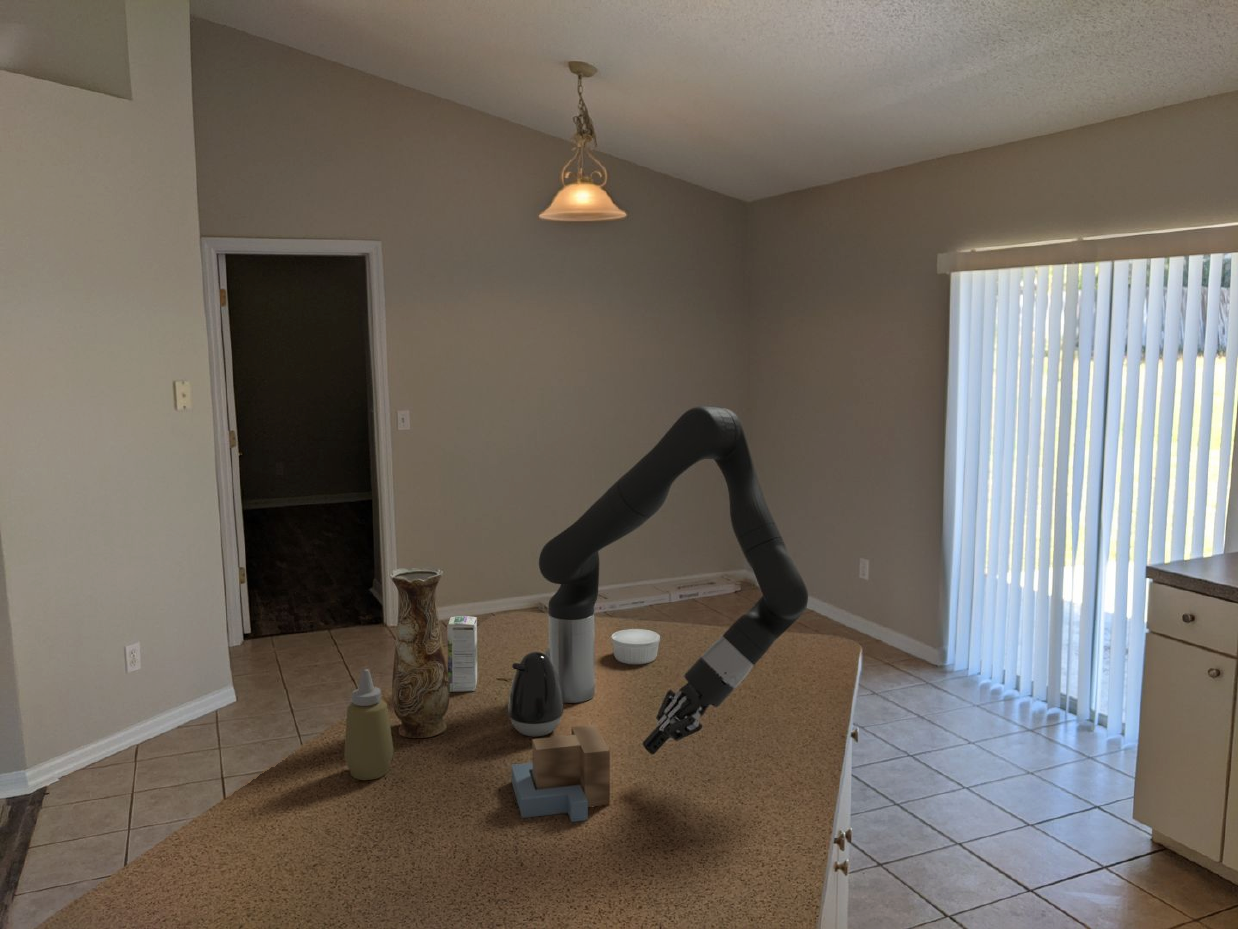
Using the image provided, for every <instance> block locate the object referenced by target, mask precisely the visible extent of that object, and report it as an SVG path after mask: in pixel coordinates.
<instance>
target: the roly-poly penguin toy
mask: <svg viewBox="0 0 1238 929" xmlns="http://www.w3.org/2000/svg"><path fill="white" fill-rule="evenodd" d="M511 667H512V669H513V670H516V671H515V673H514V676H513V678H512V683H511V687H510V693H509V700H508V705H507V706H508V709H507V711H508V712H507V714H508V717H509V718H510V720H511V723H512V725H513V727H514V729H515V730H516V731H518V732H519V733H520V734H522V735H524V736H528V737H536V738H537V737H538V738H539V737H543V736H546V735H549V734H551V733H552V732H553V731H554V730H556V729H557V727H558V726H559V724H560V722H561V719H562V716H563V714H564V702H563V699H562V693H561V688H560V684H559V681H558V678H557V675H556V672H555V670H554V667H553V665H552V663H551V661H550V660H549V658H548V657H547V656H546V655H545V653H543V652H541V651H531V652H528V653H527V654H525V655H524V656H523V657H522V658H521V660H520V662H514V663H513V664H512V666H511Z"/></svg>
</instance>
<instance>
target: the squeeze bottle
mask: <svg viewBox="0 0 1238 929" xmlns="http://www.w3.org/2000/svg"><path fill="white" fill-rule="evenodd" d="M351 696H352V702H351V703H350V704H349V705H347V707H346V709H347V710H346V711H347V712H346V724H345V737H344V738H345V741H344V754H343V755H344V756H343V757H344V760H345V762H346V765H347V767H348V770H349V772H350V775H351V776H352V777H353V778H354V779H356V780H359V781H371V780H372V781H373V780H375V779H378V778H382V777H384V776H385V775H386V774H387V773H388V771H389V768H390V763H391V761H392V758H393V754H394V745H393V744H394V742H393V737H392V730H391V724H390V722H391V721H390V718H389V717H390V715H389V710H388V703H387V702H386V701H385V700H383V699H382V691H381V688H379V687H376V686H374V683H373V679H372V675H371V672H370V669H368V668H366V669H362V671H361V675H360V680H359V686H358V688H357V689H355V690H353V691H352V695H351Z"/></svg>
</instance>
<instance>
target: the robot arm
mask: <svg viewBox="0 0 1238 929" xmlns="http://www.w3.org/2000/svg"><path fill="white" fill-rule="evenodd" d="M744 430H745V429H744V427H743V424H742V422H741V420H740V419H739V417H738V415H737V414H736V413H734V412H733V411H732V410H731V409H729V408H725V407H719V406H705V405H704V406H703V405H701V406H700V405H699V406H695V407H691V408H690V409H688V410H686V411H685V412H684V413H683V414H681V416H680V417H679V418H677V419H676V421H675V422H674V423H673V424H672V426H671V427H670V428H668V430H667V432H666V433H665V434H664V435H663V437H662V438H660V440H659V441H658V442H657V443H656V444H655V445H654V447H653V448H652V449H651V450H649V451H648V452H647V454H645V455H644V456H643V457H642V458H641V459H640V460H639V461H638V462H637V463H636V464H634V465H633V466H632V467H631V468H630V469H629V470H628V471H627V472H626V473H624V474H623V475H622V476H620V478H619V479H618V480H617V481H615V483H613V485H611V486H610V487H609V488H608V489H607V490H606V491H605V493H604V494H602V496H600V497H599V498H598V499H597V500H596V501H595V502H594V503H593V504H592V505H591V506H590V507H589V508H588V509H587V510H586V511H585V512H584V513H583V514H582V515H581V516H579V518H578V519H577V520H576V521H575V522H574V523H572V524H571V525H570V526H568V527H567V528H566V529H564V530H563V531H561V532H560V533H559V534H557V535H556V536H555V537H553V538H552V539H551V540H549V541H548V542H547V543H546V544H544V546H543V548H542V549H541V551H540V554H539V559H538V567H539V571H540V573H541V575H542V576H543V577H542V578H544V579H545V580H546V581H548V582H550V583H552V584H556V585H560V586H559V587H558V589H557V591H556V592H555V594H554V595H552V596H551V598H549V601H548V605H547V606H548V607H547V608H548V647H547V648H546V649H545V651H544V654H545V655H546V656H547V657H548V658H549V660H550V661H551V663H552V665H553V667H554V670H555V672H556V675H557V678H558V681H559V684H560V688H561V693H562V699H563V703H564V704H565V703H567V704H568V703H569V704H571V703H572V704H574V703H575V704H576V703H583V702H587V701H589V700H591V699H592V698H594V696H595V605H596V604H597V600H598V596H599V585H600V553H599V551H600V550H602V549H603V548H605V547H607V546H610V545H611V544H613V543H615V542H616V541H619V540H620V539H622V538H624V537H626V536H627V535H629V534H630V533H632V532H634V531H635V530H637V529H638V528H640V527H641V526H642V525H643V524H645V522H647V521H648V520H649V519H650V518H651V517H653V516H654V515H655V514H656V513H657V512H658V511H659V510H660V509H661V507H663V505H664V503H665V502H666V501H667V500H666V499H667V498H668V495H669V492H670V490H671V486H672V485H673V483H674V482H675V481H676V480H677V478H679V477H680V476H681V475H682V474H683V473H684V472H686V471H687V470H688V469H689V468H691V467H692V466H693V465H695V464H697V463H698V462H700V461H702V460H714V461H715V463H716V465H717V467H718V468H719V470H720V472H721V473H722V476H723V477H724V480H725V482H726V487H727V491H728V492H727V493H728V499H729V516H730V521H731V526H732V530H733V533H734V535H735V537H736V540H737V542H738V545H739V546H740V548H741V551H742V553H743V556H744V558H745V560H746V562H747V563H748V565H749V566H750V568H751V569H752V570H753V575H754V576H755V578H756V582H757V584H758V586H759V588H760V591H761V594H762V596H761V597H760V598H759V599H758V600H757V602H756V603H755V604H754V605H753V606H752V607H751V608H750V609H749V610H748V612H746V613H745V614H743V615H741V616H740V617H739V618H737V619H736V620H735V621H734V623H732V625H731V626H730V627H729V628H728V629H727V630H726V631H725V632H724V633H723V634H722V636H720V637H719V638H718V639H717V640H716V641H715V642H713V643H712V644H711V645H710V646H709V647H708V648H707V649H706V650H705V651H704V653H703V654H702V655H701V656H700V657H699V658H698V659H697V660H696V661H695V663H694V664H692V666H691V667H690V668H689V669H688V670H687V671H686V672H685V673H684V676H683V677H684V679H685V680H686V681H687V683H686V684H684V685H683V686H682V687H680V688H679V690H678V692H677V691H676V692H674V691H673V690H672V689H670V690H668V691H667V692H666V694H665V697H664V699H663V701H662V703H661V706H660V708H659V710H658V713H657V715H656V716H655V717H656V718H655V719H656V720H657V723H656V728H655V729H653V731H651V733H650V734H649V735H648V736H647V737H646V738H645V739H644V740H643V742H642V746H643V747H644V749H645V751H647V752H648V753H649V754H651V755H655V754H656V753H657V752H658V751H659V750H660V749H661V747H662V746H664V744H665V743H666V742H667V741H668V740H674V741H675V742H677V741H680V740H682V739H684V738H687V737H689V736H691V735H693V734H695V733H697V732H699V731H701V730H702V729H703V725H702V723H700V719H701V717H702V716H704V715H705V713H706V711H707V710H708V708H709V707H710V706H712V707H714V708H718V707H720V706H721V705H722V704H723V703H724V702H725V700H726V699H727V698H728V697H729V696H730V695H731V694H732V693H733V691H734V690H736V688H738V686H739V685H740V684H741V683H742V681H743V680H744V679H745V678H746V677H747V676H748V674H749V673H750V671H751V670H752V669H753V667H754V666H755V665H756V664H757V663H758V662H759V661H760V659H761V658H762V657H764V655H765V654H766V653H767V651H768V650H769V649H770V648H771V646H772V645H773V644H774V643H775V641H776V640H777V639H778V638H780V637H782V635H783V634H784V633H785V632H787V630H788V629H789V628H790V627H791V626H792V625H793V624H794V623H795V622H796V621H797V620H798V619H799V618H800V617H801V616H802V615H803V614H804V612H805V611H806V609H807V607H808V601H809V593H808V588H807V587H806V584H805V582H804V580H803V578H802V576H801V573H800V572H799V570H798V568H797V567H796V565H795V563H794V561H793V560H792V558H791V556H790V554H789V553H788V549H787V546H786V544H785V542H784V539H783V537H782V535H781V533H780V530H779V528H778V525H777V524H776V522H775V520H774V517H773V516H772V513H771V511H770V509H769V506H768V504H767V502H766V499H765V496H764V493H763V491H762V488H761V485H760V482H759V478H758V474H757V471H756V469H755V465H754V461H753V458H752V455H751V451H750V448H749V445H748V440H747V437H746V433H745V431H744Z"/></svg>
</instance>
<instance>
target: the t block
mask: <svg viewBox="0 0 1238 929" xmlns="http://www.w3.org/2000/svg"><path fill="white" fill-rule="evenodd" d="M531 743H532V762H533V784H534V787H535V790H539V789H548V788H556V787H565V786H573V785H581V788H582V790H583V792H584V795H585V797H586V799H587V801H588V807H590V808H596V807H595V806H597V807H603V806H602V805H605V806H609V805H608V804H610V805H611V798H610V797H611V796H610V795H611V794H610V793H611V792H610V791H611V788H610V787H611V786H610V785H611V784H610V783H611V782H610V780H611V776H610V774H611V770H610V768H611V766H610V764H611V762H610V760H611V756H610V755H611V754H610V753H611V750H610V748H609V747H608V745H607V743H606V741H605V740H604V738H603V736H602V735H601V732H600V730H599V729H598V727H597V725H596V724H589V725H587V724H586V725H579V726H571V734H569V735H568V734H567V735H560V736H550V737H541V738H533V739H532V740H531ZM592 806H593V807H592Z"/></svg>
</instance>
